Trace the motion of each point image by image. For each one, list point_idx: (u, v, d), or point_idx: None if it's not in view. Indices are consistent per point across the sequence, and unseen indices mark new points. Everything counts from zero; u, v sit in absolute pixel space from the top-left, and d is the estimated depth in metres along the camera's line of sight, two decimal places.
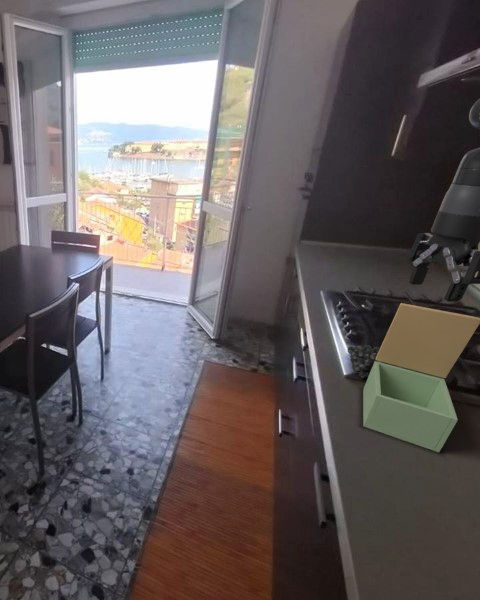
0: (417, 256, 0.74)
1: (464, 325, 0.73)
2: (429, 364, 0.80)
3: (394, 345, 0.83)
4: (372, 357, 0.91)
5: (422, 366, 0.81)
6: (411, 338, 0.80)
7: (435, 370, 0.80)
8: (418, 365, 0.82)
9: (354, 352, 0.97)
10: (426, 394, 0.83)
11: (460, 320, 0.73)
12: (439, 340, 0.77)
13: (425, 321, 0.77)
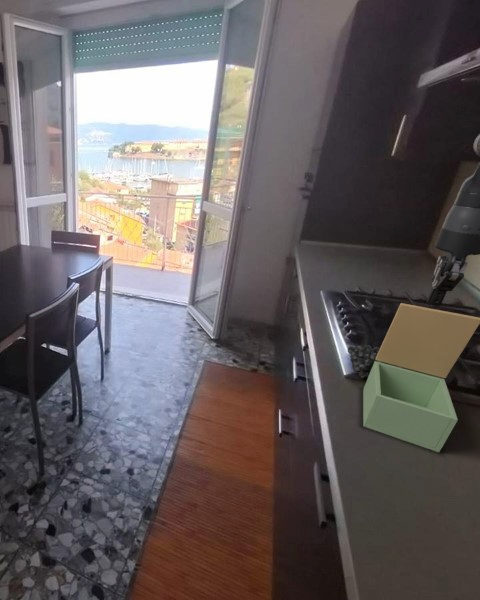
0: None
1: (464, 325, 0.73)
2: (429, 364, 0.80)
3: (394, 345, 0.83)
4: (372, 357, 0.91)
5: (422, 366, 0.81)
6: (411, 338, 0.80)
7: (435, 370, 0.80)
8: (418, 365, 0.82)
9: (354, 352, 0.97)
10: (426, 394, 0.83)
11: (460, 320, 0.73)
12: (439, 340, 0.77)
13: (425, 321, 0.77)
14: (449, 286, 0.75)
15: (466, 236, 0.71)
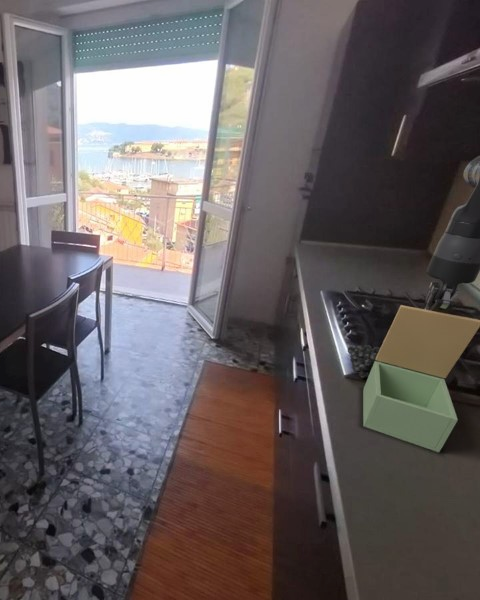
0: None
1: (464, 327, 0.73)
2: (429, 365, 0.80)
3: (394, 346, 0.82)
4: (372, 357, 0.91)
5: (422, 366, 0.81)
6: (411, 339, 0.80)
7: (435, 370, 0.80)
8: (418, 365, 0.82)
9: (354, 352, 0.97)
10: (426, 394, 0.83)
11: (460, 322, 0.73)
12: (439, 341, 0.77)
13: (425, 322, 0.76)
14: None
15: (457, 265, 0.71)
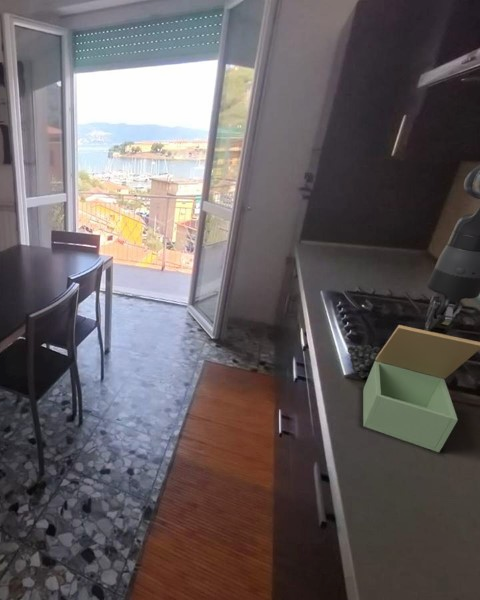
0: None
1: (464, 348, 0.70)
2: (429, 369, 0.80)
3: (393, 353, 0.81)
4: (372, 357, 0.91)
5: (422, 369, 0.81)
6: (410, 350, 0.78)
7: (435, 373, 0.80)
8: (418, 368, 0.82)
9: (354, 352, 0.97)
10: (426, 394, 0.83)
11: (460, 344, 0.70)
12: (438, 355, 0.75)
13: (423, 341, 0.74)
14: (442, 329, 0.72)
15: (460, 279, 0.67)
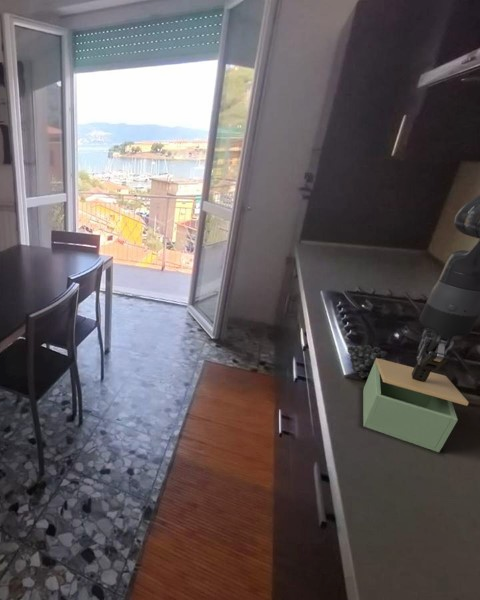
0: None
1: None
2: None
3: None
4: (372, 357, 0.91)
5: None
6: None
7: None
8: None
9: (354, 352, 0.97)
10: (426, 394, 0.83)
11: None
12: None
13: None
14: (434, 365, 0.71)
15: (451, 316, 0.66)
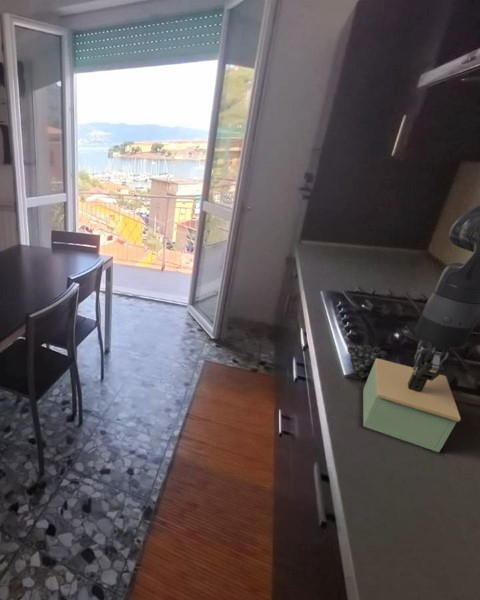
0: None
1: None
2: None
3: None
4: (372, 357, 0.91)
5: None
6: None
7: None
8: None
9: (354, 352, 0.97)
10: None
11: None
12: None
13: None
14: (430, 375, 0.71)
15: (446, 328, 0.67)
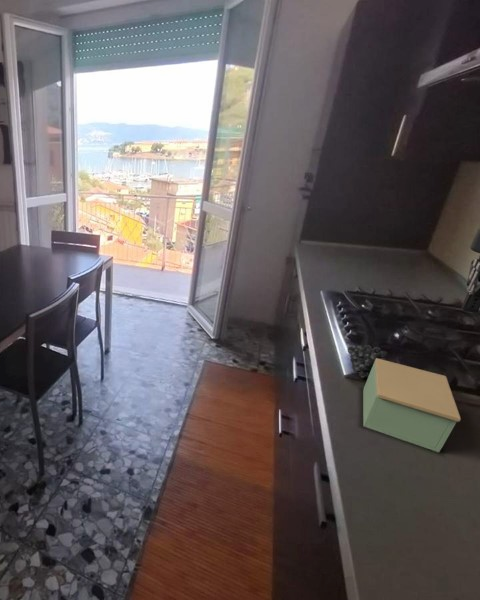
0: None
1: None
2: None
3: None
4: (372, 357, 0.91)
5: None
6: None
7: None
8: None
9: (354, 352, 0.97)
10: None
11: None
12: None
13: None
14: None
15: None
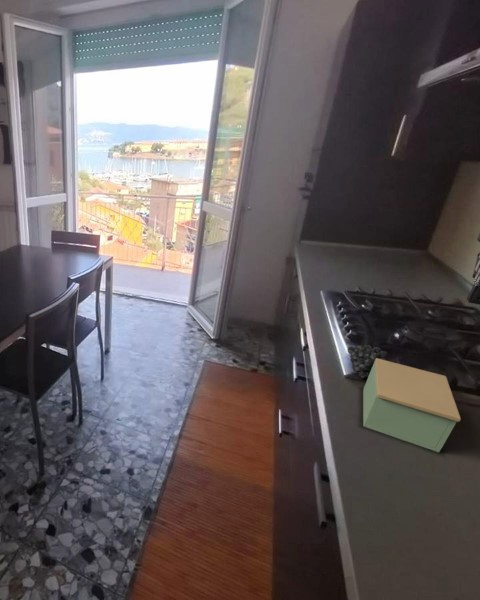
0: None
1: None
2: None
3: None
4: (372, 357, 0.91)
5: None
6: None
7: None
8: None
9: (354, 352, 0.97)
10: None
11: None
12: None
13: None
14: None
15: None
